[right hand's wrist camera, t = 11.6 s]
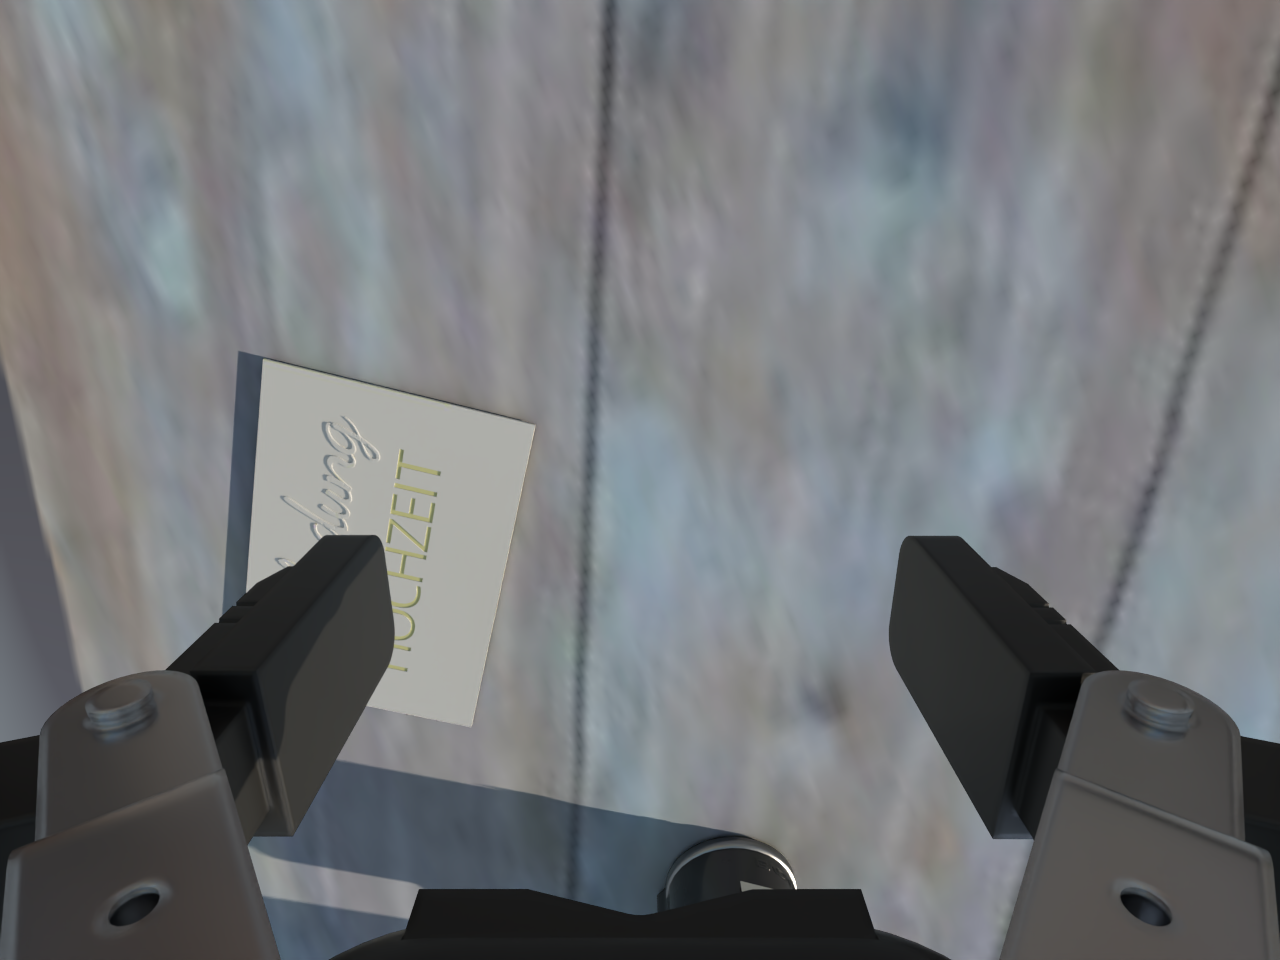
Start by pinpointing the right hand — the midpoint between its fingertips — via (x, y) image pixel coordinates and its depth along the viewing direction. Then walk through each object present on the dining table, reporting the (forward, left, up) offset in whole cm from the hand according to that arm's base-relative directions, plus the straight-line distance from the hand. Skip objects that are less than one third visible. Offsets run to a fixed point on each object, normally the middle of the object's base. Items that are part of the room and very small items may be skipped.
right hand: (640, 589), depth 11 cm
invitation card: (-21, +1, -29) cm, 36 cm away
